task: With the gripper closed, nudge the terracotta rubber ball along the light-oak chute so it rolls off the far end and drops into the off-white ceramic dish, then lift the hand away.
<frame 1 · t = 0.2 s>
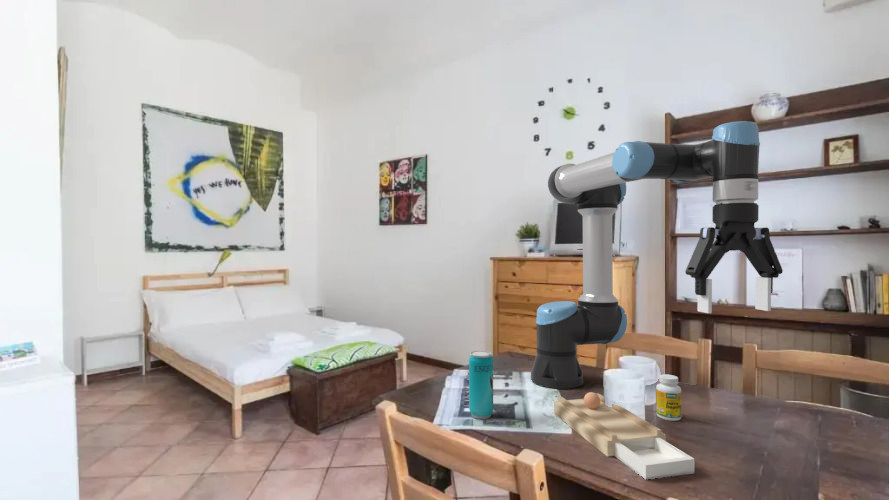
hand: (734, 311, 86), 28 cm above the table, fingers open, 13 cm apart
beverage can: (481, 416, 105), on the table
supplement bottle: (668, 417, 104), on the table
chute: (604, 429, 96), on the table
ball: (592, 400, 101), point 5 cm above the table, touching chute
dish: (651, 462, 82), on the table
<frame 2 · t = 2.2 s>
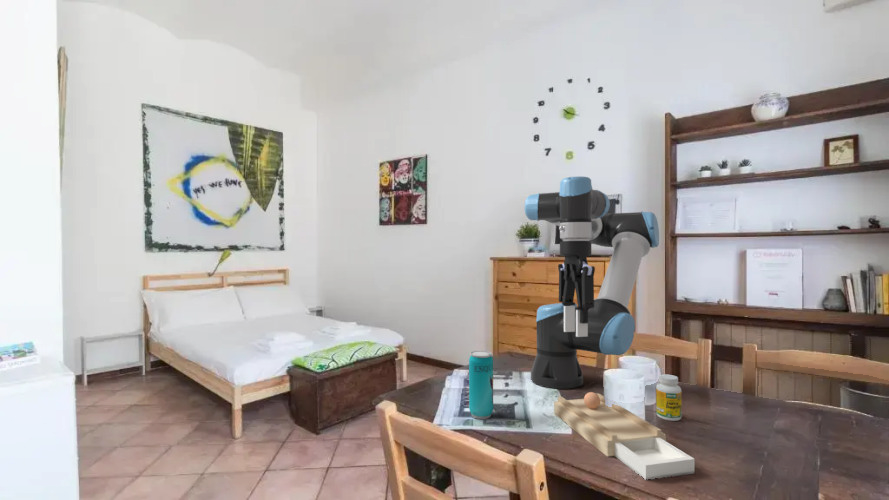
hand: (575, 333, 108), 19 cm above the table, fingers open, 5 cm apart
nothing on the table moved.
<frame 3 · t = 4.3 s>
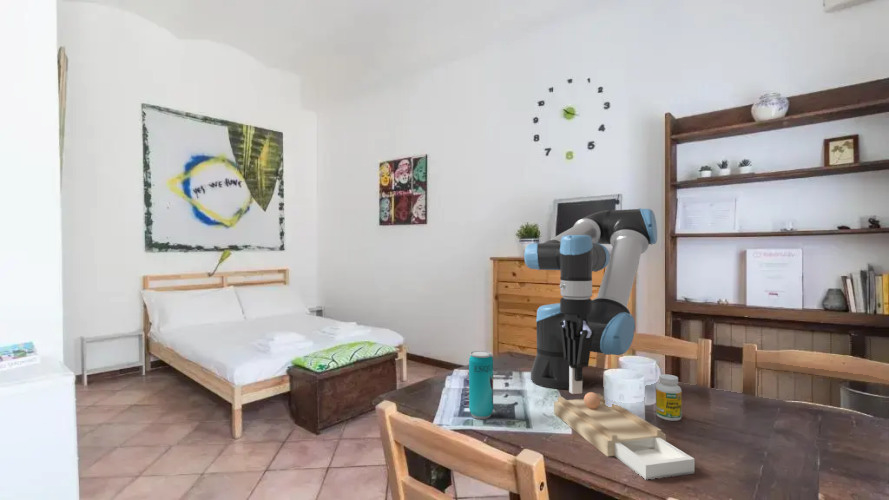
hand: (575, 392, 108), 4 cm above the table, fingers closed
nothing on the table moved.
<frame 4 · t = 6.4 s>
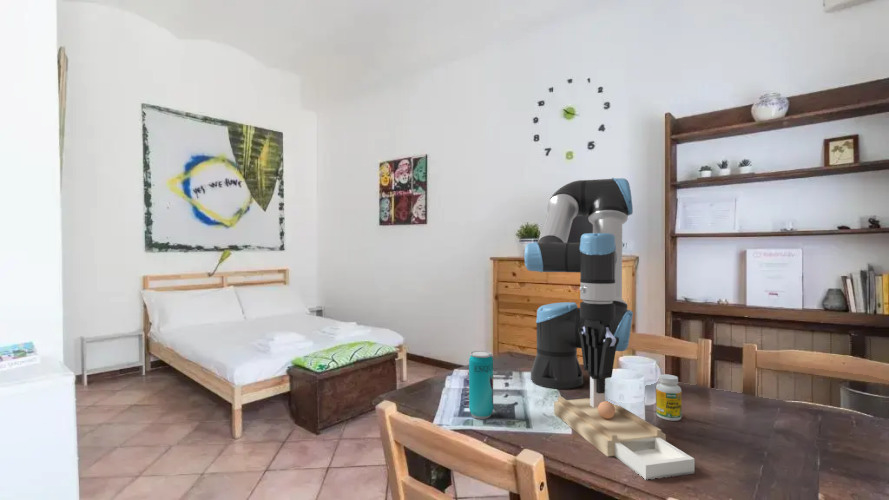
hand: (597, 405, 99), 4 cm above the table, fingers closed
ball: (606, 409, 95), point 5 cm above the table, tilted 170°, touching chute
everything else where it was.
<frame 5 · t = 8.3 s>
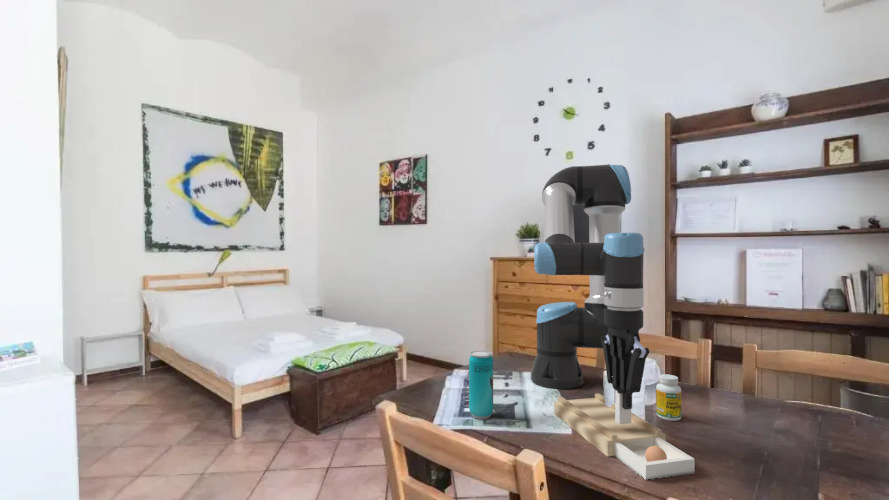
hand: (623, 422, 90), 4 cm above the table, fingers closed
ball: (655, 456, 80), point 2 cm above the table, tilted 5°, touching dish
everything else where it was.
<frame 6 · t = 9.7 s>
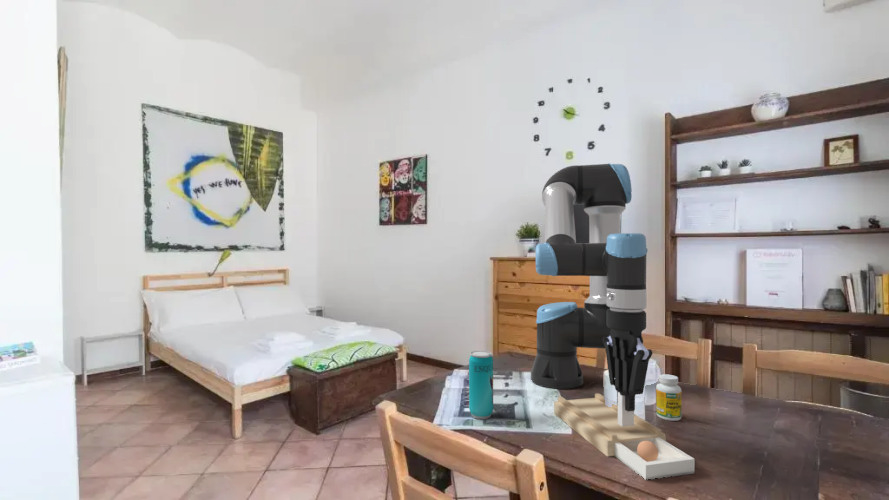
hand: (625, 424, 89), 4 cm above the table, fingers closed
ball: (647, 451, 82), point 2 cm above the table, tilted 64°, touching dish
everything else where it was.
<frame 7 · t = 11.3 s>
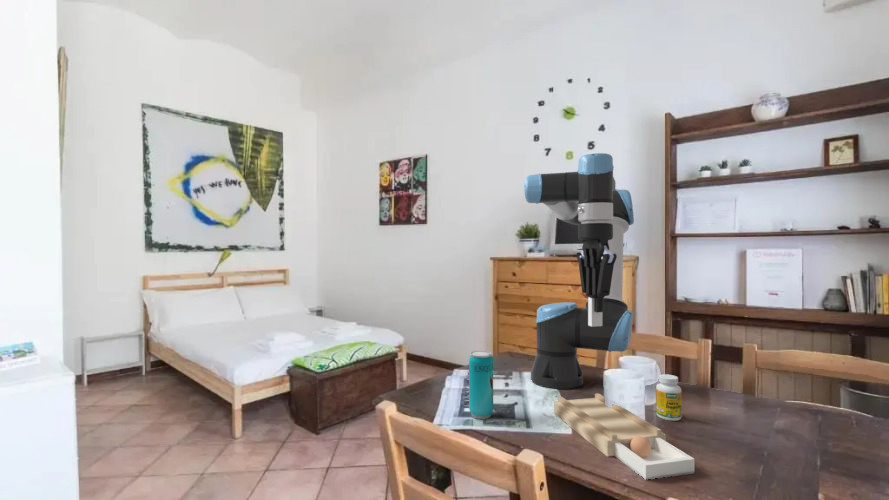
hand: (595, 325, 100), 22 cm above the table, fingers closed
ball: (640, 446, 84), point 2 cm above the table, tilted 127°, touching dish
everything else where it was.
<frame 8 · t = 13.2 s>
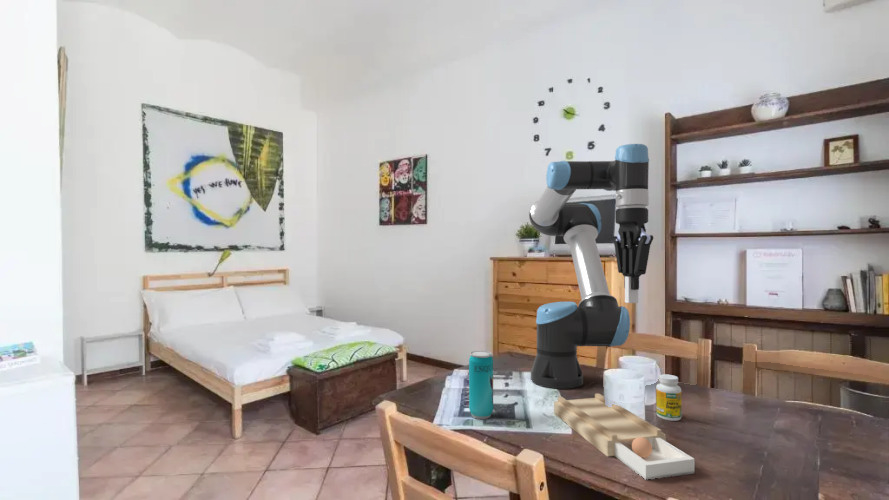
hand: (631, 302, 109), 26 cm above the table, fingers closed
ball: (641, 447, 83), point 2 cm above the table, tilted 115°, touching dish
everything else where it was.
at the end: ball inside the target area on the dish (1.8 cm from its centre), point 2.2 cm above the dish's base; ball point 2.2 cm above the table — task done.
